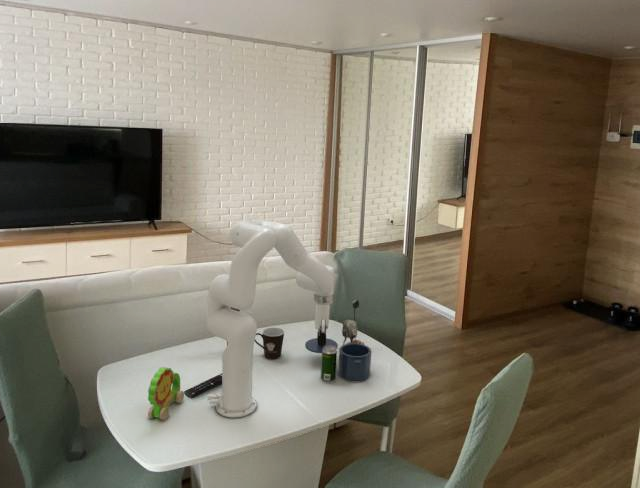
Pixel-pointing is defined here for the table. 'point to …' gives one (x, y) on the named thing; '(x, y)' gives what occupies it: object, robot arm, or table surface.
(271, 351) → the coffee mug
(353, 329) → the plant with pod
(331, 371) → the beer can
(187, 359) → the table surface
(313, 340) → the lid
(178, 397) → the toy lion
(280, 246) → the robot arm
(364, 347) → the pot
